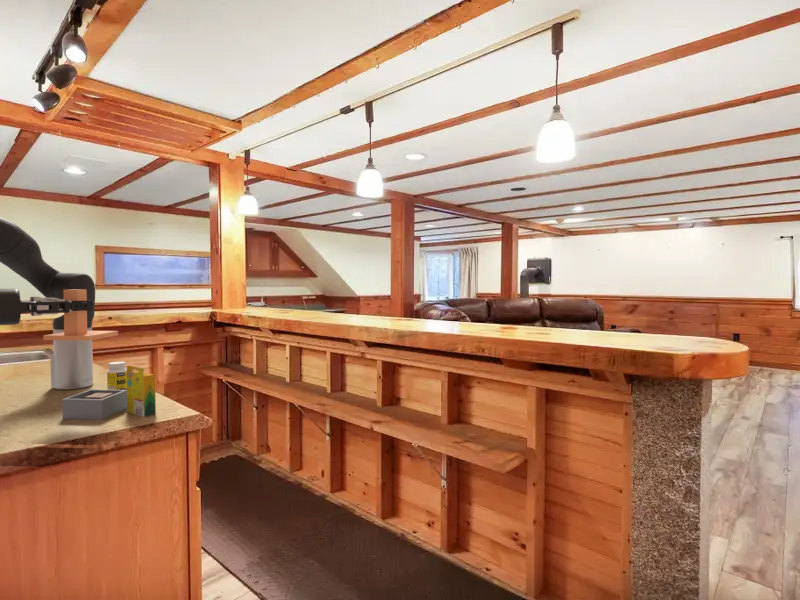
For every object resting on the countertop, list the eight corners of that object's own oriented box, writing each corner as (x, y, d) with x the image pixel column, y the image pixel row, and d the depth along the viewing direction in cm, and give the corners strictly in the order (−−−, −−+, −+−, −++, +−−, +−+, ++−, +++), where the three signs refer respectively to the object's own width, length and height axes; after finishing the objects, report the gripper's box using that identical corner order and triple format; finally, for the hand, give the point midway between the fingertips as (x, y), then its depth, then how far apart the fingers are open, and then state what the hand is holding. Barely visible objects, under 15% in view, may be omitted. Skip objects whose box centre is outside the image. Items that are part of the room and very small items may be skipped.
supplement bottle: (117, 395, 124) (117, 364, 123) (103, 394, 124) (102, 363, 124) (131, 390, 128) (131, 361, 128) (117, 389, 129) (116, 360, 129)
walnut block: (85, 414, 104) (84, 397, 104) (97, 409, 108) (96, 392, 108) (102, 414, 104) (101, 397, 104) (113, 409, 108) (113, 393, 108)
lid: (43, 339, 99) (42, 289, 98) (77, 334, 109) (76, 288, 108) (88, 340, 98) (87, 290, 98) (118, 335, 108) (117, 289, 108)
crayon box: (156, 416, 105) (155, 366, 105) (143, 419, 103) (142, 368, 102) (139, 411, 109) (138, 363, 108) (126, 414, 107) (125, 365, 106)
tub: (62, 421, 101) (62, 399, 101) (91, 409, 110) (91, 389, 110) (102, 422, 100) (101, 399, 100) (127, 410, 109) (127, 390, 109)
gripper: (-11, 289, 86) (96, 289, 98) (-13, 287, 96) (84, 287, 108) (-10, 328, 86) (97, 323, 98) (-12, 323, 97) (84, 319, 108)
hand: (89, 304), depth 103 cm, fingers closed on lid, 4 cm apart
